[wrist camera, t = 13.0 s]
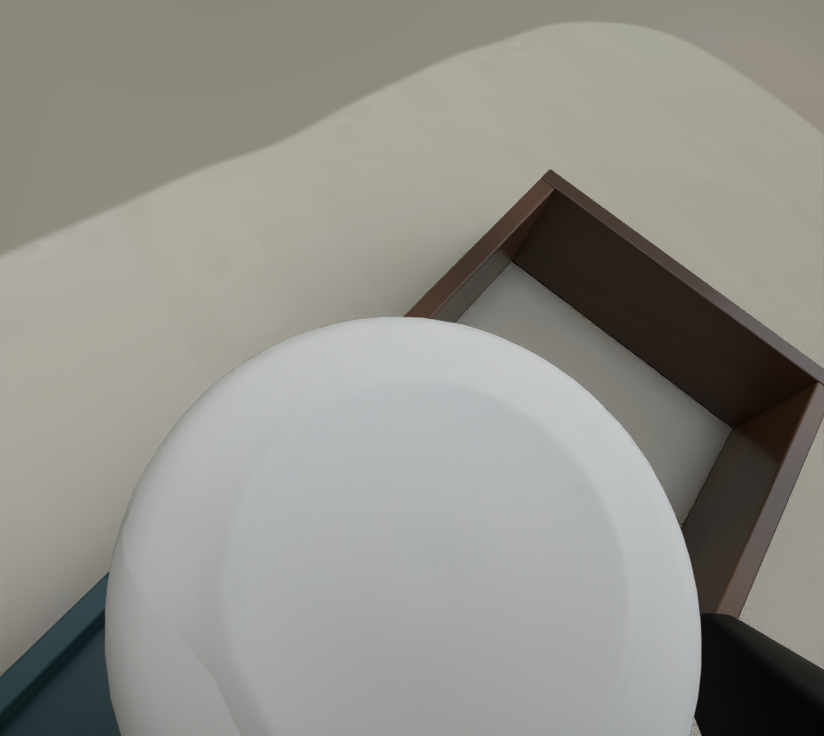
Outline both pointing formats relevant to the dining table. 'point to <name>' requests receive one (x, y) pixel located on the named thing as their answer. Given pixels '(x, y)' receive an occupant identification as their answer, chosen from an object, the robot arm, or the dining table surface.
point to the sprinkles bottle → (400, 552)
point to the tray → (63, 678)
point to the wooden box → (668, 363)
